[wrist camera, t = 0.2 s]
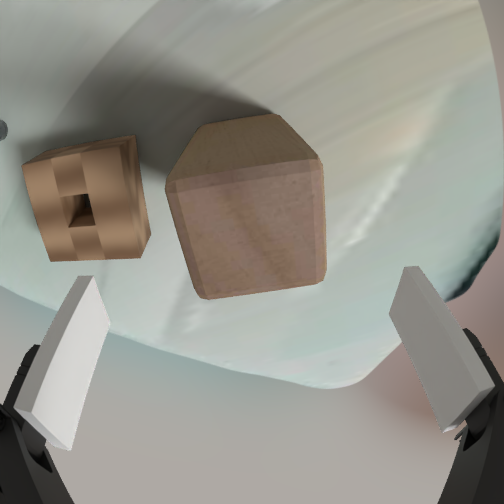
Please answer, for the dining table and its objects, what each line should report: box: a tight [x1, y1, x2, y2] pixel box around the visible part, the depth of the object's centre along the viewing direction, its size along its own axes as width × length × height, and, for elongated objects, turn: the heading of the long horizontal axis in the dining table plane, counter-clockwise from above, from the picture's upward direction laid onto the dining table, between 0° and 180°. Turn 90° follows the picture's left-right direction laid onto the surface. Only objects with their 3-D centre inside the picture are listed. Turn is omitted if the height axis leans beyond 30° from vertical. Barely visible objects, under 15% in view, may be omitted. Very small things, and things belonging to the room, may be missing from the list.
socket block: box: [22, 135, 151, 262], centre depth 36 cm, size 14×14×6 cm
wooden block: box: [165, 114, 327, 300], centre depth 29 cm, size 10×10×20 cm
